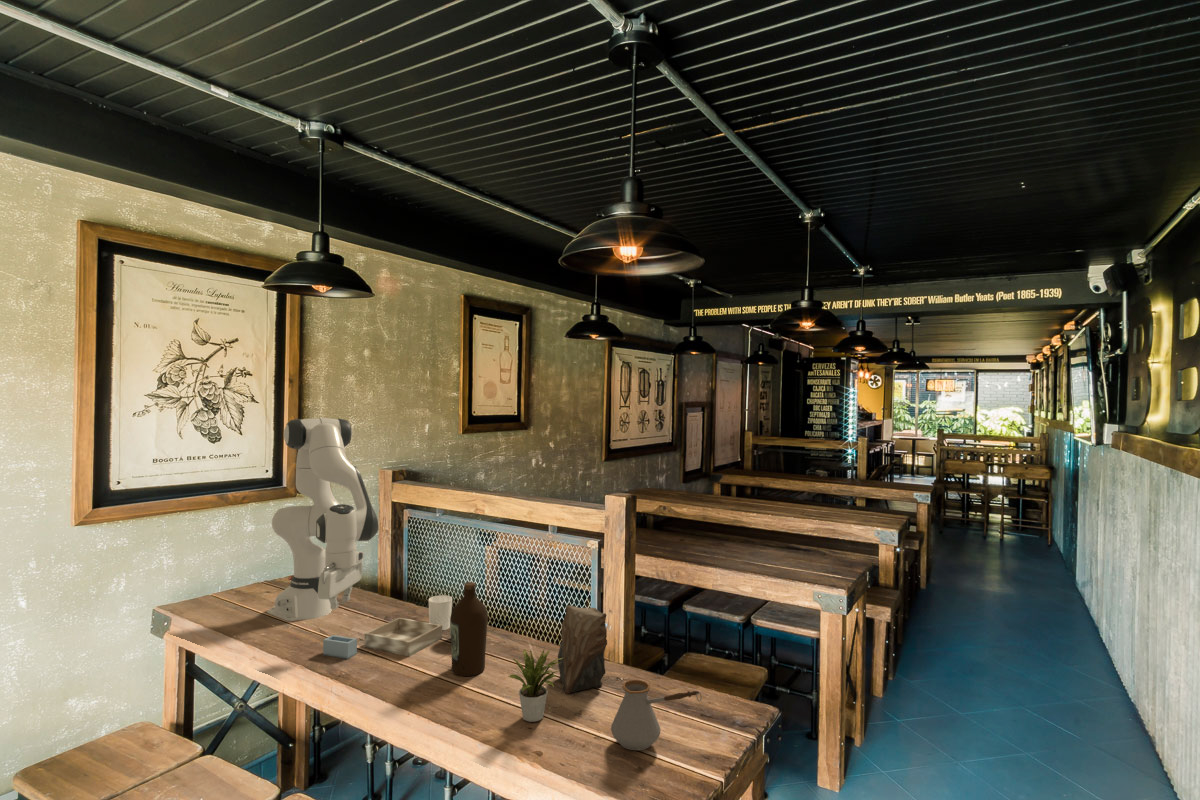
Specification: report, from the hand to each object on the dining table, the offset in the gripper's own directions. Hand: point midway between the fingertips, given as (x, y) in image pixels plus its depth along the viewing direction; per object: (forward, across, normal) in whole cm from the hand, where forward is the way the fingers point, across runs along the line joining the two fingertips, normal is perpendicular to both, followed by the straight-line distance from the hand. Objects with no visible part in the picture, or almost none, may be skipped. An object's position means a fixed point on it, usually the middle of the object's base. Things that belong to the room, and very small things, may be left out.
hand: (340, 604), depth 189 cm
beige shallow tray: (+16, +12, -15) cm, 25 cm away
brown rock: (+15, -8, -76) cm, 77 cm away
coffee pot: (+15, -39, -96) cm, 105 cm away
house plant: (+15, -30, -66) cm, 74 cm away
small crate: (+15, 0, 0) cm, 16 cm away
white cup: (+16, +26, -22) cm, 38 cm away
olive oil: (+15, -5, -42) cm, 45 cm away
